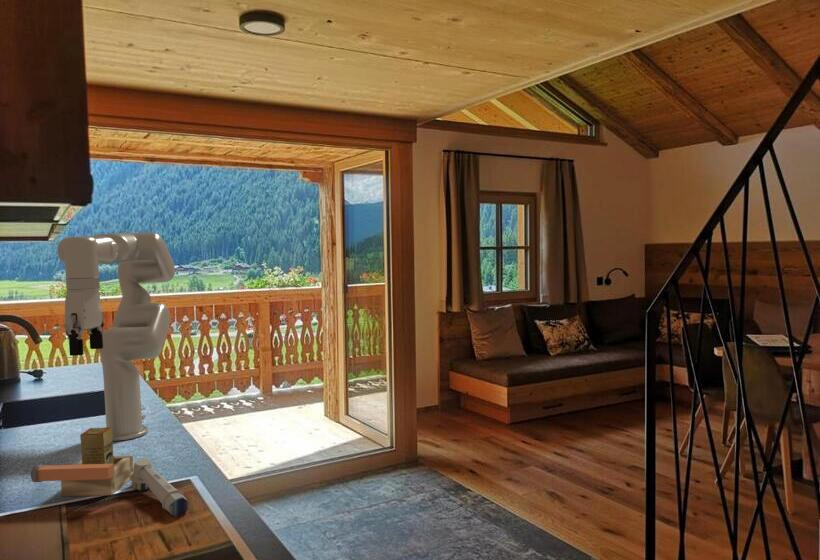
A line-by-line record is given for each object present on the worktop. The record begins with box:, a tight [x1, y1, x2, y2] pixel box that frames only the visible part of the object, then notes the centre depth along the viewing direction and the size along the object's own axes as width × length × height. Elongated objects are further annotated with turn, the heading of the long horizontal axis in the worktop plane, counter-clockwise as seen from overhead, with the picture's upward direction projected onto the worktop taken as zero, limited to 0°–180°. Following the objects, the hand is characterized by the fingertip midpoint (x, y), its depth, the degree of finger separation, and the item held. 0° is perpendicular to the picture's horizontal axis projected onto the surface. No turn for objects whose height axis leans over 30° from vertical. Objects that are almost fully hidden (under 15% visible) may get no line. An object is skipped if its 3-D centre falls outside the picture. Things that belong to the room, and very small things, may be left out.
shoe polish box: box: [79, 427, 114, 464], centre depth 143 cm, size 5×5×12 cm
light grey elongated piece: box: [129, 458, 190, 518], centre depth 135 cm, size 5×7×25 cm
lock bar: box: [30, 464, 114, 483], centre depth 134 cm, size 4×16×4 cm, turn 90°
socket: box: [60, 455, 134, 497], centre depth 143 cm, size 11×11×5 cm
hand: (87, 351), depth 159 cm, fingers open, 9 cm apart
